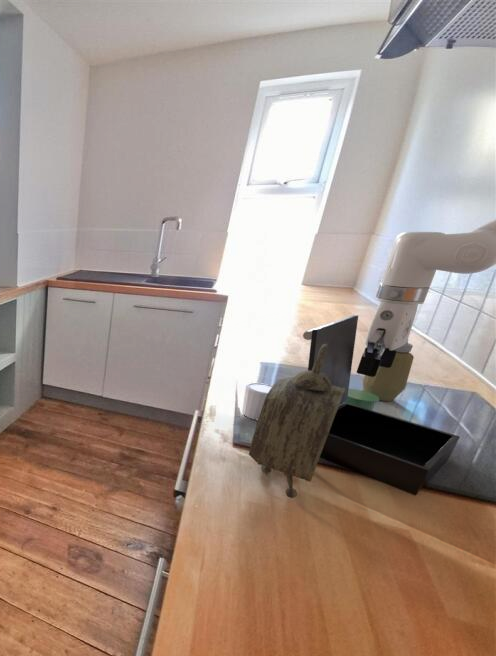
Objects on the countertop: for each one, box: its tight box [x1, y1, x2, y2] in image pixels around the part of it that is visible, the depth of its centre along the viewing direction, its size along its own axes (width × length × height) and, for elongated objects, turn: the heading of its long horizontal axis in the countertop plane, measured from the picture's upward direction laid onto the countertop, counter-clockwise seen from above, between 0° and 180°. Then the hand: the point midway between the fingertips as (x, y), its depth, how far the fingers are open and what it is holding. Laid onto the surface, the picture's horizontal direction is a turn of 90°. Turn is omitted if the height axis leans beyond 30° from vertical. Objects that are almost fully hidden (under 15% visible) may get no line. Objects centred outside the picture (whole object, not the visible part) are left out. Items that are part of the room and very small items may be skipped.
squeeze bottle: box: [362, 339, 415, 402], centre depth 102 cm, size 8×8×18 cm
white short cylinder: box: [241, 382, 273, 420], centre depth 95 cm, size 7×7×7 cm
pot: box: [343, 388, 380, 411], centre depth 97 cm, size 7×7×5 cm
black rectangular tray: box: [319, 402, 461, 496], centre depth 79 cm, size 18×20×6 cm
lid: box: [302, 314, 359, 405], centre depth 84 cm, size 18×20×5 cm
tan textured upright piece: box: [248, 344, 345, 499], centre depth 70 cm, size 14×9×25 cm, turn 136°
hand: (373, 370), depth 93 cm, fingers open, 9 cm apart
